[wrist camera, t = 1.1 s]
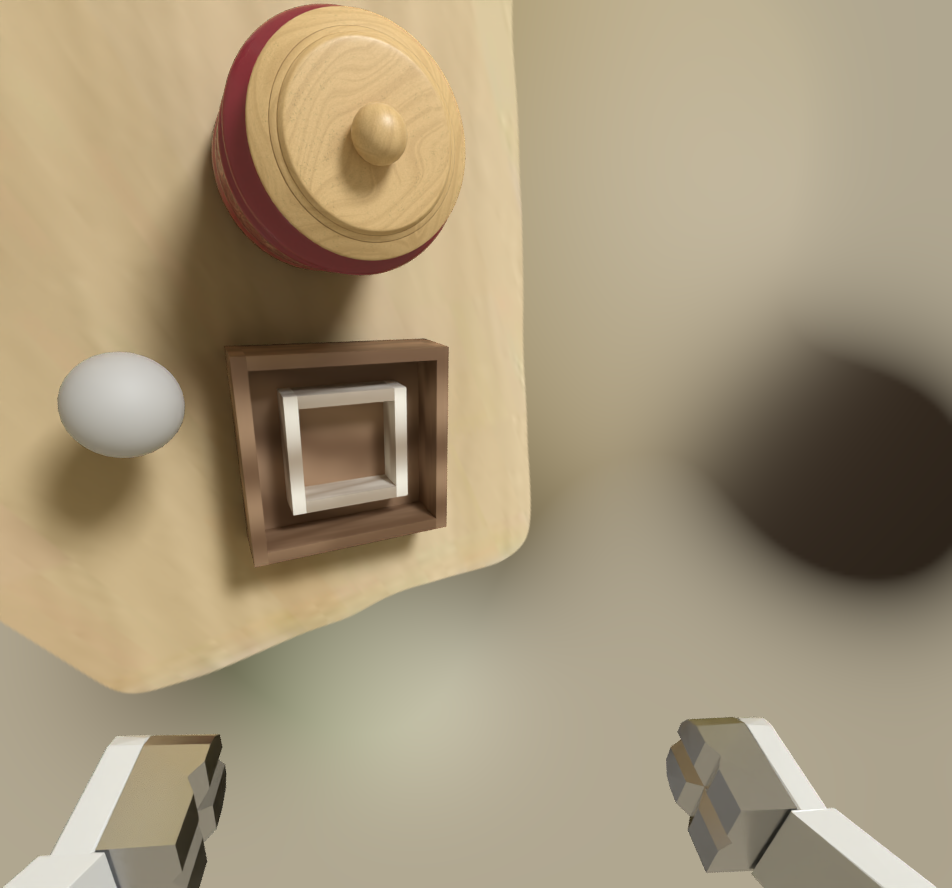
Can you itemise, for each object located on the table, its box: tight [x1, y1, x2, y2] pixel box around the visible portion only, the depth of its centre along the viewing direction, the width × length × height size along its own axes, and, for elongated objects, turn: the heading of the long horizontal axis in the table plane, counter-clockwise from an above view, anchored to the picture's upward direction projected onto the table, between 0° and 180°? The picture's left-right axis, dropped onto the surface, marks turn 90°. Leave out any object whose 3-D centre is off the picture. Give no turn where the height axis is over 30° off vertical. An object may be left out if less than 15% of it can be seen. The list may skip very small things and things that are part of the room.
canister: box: [212, 4, 465, 275], centre depth 31 cm, size 13×13×18 cm
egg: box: [58, 352, 185, 458], centre depth 33 cm, size 6×6×11 cm
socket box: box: [224, 339, 449, 567], centre depth 44 cm, size 16×16×5 cm
